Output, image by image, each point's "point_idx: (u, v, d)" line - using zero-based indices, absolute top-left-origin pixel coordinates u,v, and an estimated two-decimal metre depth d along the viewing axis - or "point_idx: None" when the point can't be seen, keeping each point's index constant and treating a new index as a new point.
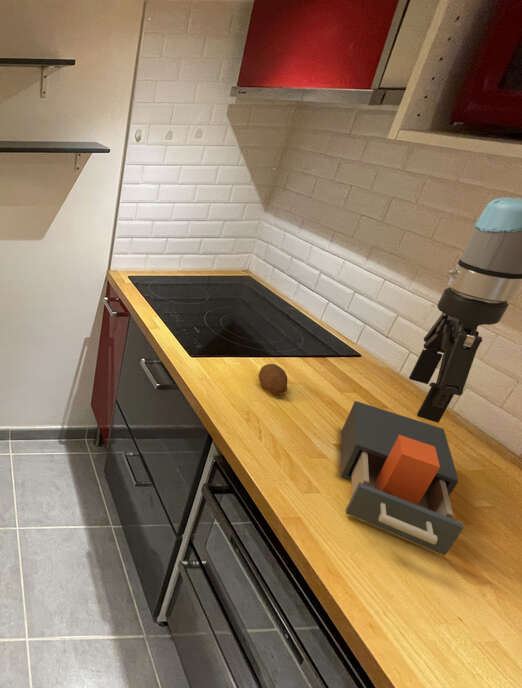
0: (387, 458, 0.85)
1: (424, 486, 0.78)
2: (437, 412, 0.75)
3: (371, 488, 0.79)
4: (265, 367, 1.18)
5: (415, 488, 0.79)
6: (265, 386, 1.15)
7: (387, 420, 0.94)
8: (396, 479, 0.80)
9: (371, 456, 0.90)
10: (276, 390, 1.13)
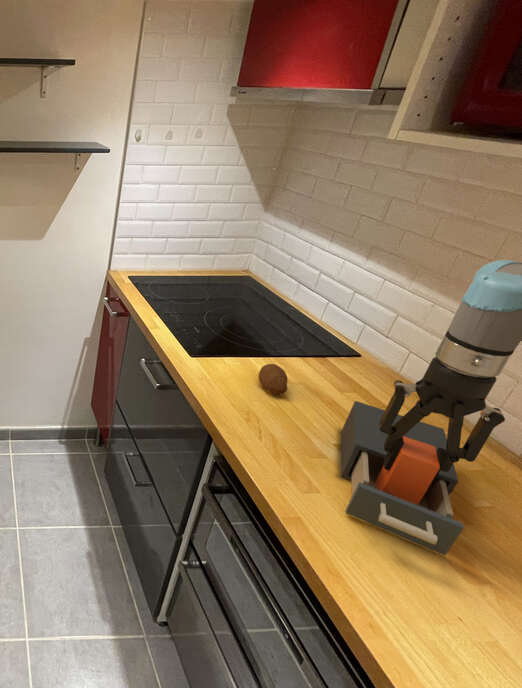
0: None
1: (424, 486, 0.78)
2: None
3: (371, 488, 0.79)
4: (265, 367, 1.18)
5: (415, 488, 0.79)
6: (265, 386, 1.15)
7: None
8: (396, 479, 0.80)
9: (371, 456, 0.90)
10: (276, 390, 1.13)
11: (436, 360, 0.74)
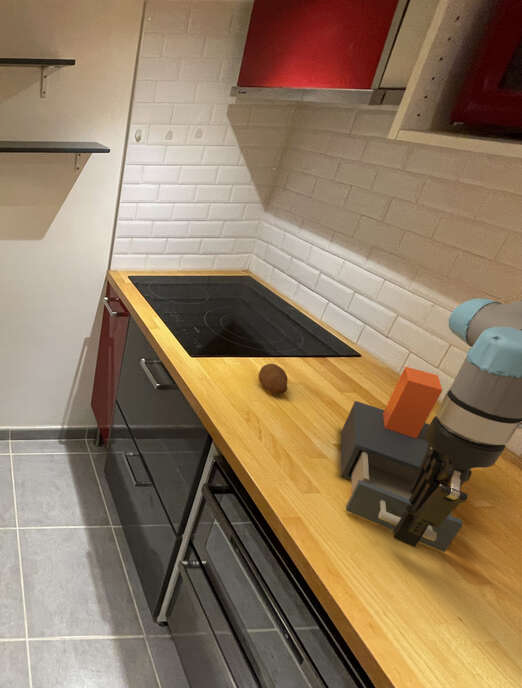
0: (394, 389, 0.93)
1: (428, 409, 0.86)
2: None
3: (370, 485, 0.79)
4: (265, 367, 1.18)
5: (420, 411, 0.87)
6: (265, 386, 1.15)
7: None
8: (403, 404, 0.89)
9: (371, 454, 0.90)
10: (276, 390, 1.13)
11: (473, 444, 0.62)
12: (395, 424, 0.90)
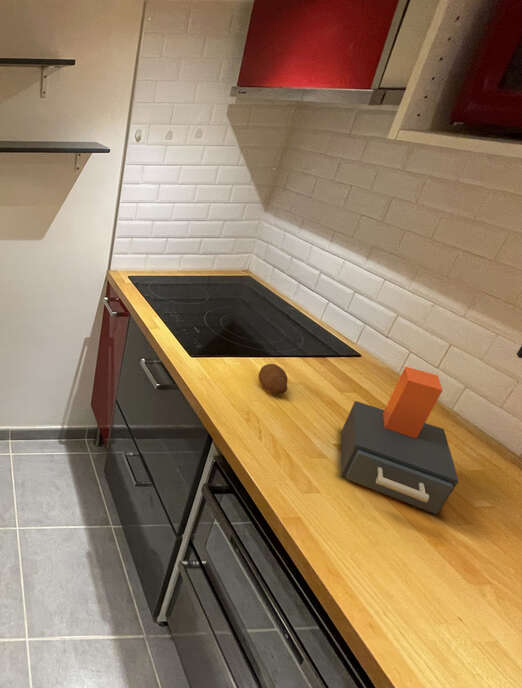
0: (394, 389, 0.93)
1: (428, 409, 0.86)
2: None
3: (369, 454, 0.86)
4: (265, 367, 1.18)
5: (420, 411, 0.87)
6: (265, 386, 1.15)
7: None
8: (403, 404, 0.89)
9: None
10: (276, 390, 1.13)
11: None
12: (395, 424, 0.90)
